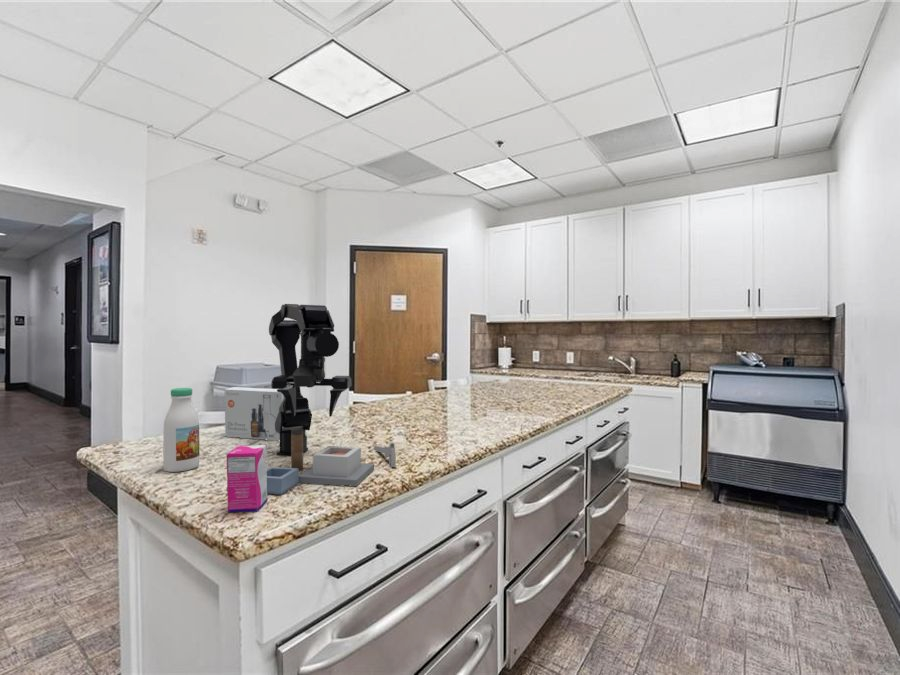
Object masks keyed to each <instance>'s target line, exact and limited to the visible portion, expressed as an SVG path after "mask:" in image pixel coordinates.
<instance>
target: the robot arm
mask: <svg viewBox="0 0 900 675" xmlns="http://www.w3.org/2000/svg"><path fill="white" fill-rule="evenodd" d="M288 319H289V320H288ZM334 332H335V323H334V321H333V318H332V316H331V313H330V311H329V310H328V307H327V306H326V305H320V304H317V305H316V304H297V303H291V304H290V303H284V304H281V307H280V310H278V311H277V312H276V313H275V314H274V315H271V318H270V322H269V326H268V334H269V336H270V337H271V343H272V344H273V345H274V347H276V349H277V350H278V354H279V364H280V371H281V372H280V375H277V376H274V377H273V378H272V380H271V382H270V383H271V385H270V386H271V387H270V389H278V390H277V392H281V393H282V394H283V395H284V399H283V401H282V403H281V405H280V407H279V413H278V415H277V418H276V421H275V431H276V432H277V433H279V434H280V441H279V451H277V452H275V453H276V455H279V456H280V455H281V456H282V455H283V456H285V455H286V456H291V430H292V429H297V428H301V429H303V453H304V452H306V451H308V450H309V447H308V435H306V431H310V430H311V425H312V417H313V413H312V411H311V408H310V407H309V400H308V398H307V397H304V396H303V394H302V393H301V387H304V388H314V387H317V386H318V387H319V386H320V387H323V386H325V387H328V386H329V387H332V389H331V390H329V393H330V400H329V401H330V402H329V408H328V410H329V411H328V413H329V414H328V416H329V417H332V416H333V413H334V411H335V409H336V407H337V403H338V400H339V398H340V397H341V394H342V393H343V392H345V391H347V389H349V388H351V387H352V385H353V384H352V377H351V376H350V375H334V376H332V377H331V378H326V372H325V363H326V357H327V358H328V357H332V356H334V355H335V354H336V353H337V352H338V349H339V346H340V343H339V341H338V340H339V339H338V337H337V336H336V335H335V334H333V333H334ZM299 340H300V358H299V362H298V361H297V360H298V359H297V358H298V357H297V353H296V346H297V343H298V342H299ZM282 427H284V428H282Z"/></svg>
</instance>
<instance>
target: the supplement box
mask: <svg viewBox="0 0 900 675" xmlns="http://www.w3.org/2000/svg"><path fill="white" fill-rule="evenodd" d="M267 466H268V465H267V445H266V444H260V445H259V444H258V445H257V444H256V445H237V446H236V447H235V448H233V449H232V450H231V451H229V452H227V453H226V483H227V484H226V485H227V486H226V487H227V494H226V495H227V512H228V513H245V512H246V513H247V512H249V513H251V512H252V511H253V512H255V511H256V512H257V511H258V512H259V511H260V510H259V509H261V508H262V507H263V506H264V505H265V504H266V502H268V494H267V468H268V467H267ZM256 512H255V513H256Z"/></svg>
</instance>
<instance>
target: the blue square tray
mask: <svg viewBox="0 0 900 675" xmlns="http://www.w3.org/2000/svg"><path fill="white" fill-rule="evenodd" d="M299 472H300V471H299V468H291V467H283V466H282V467H279V466H269V467H267V495H271V494H275V495H274V496H283V495H285V494H286V493H288V492H289V491H291V490H292V489H294V488H295V487H296V486H298V485H299V484H300V483H299V475H300V473H299ZM297 484H298V485H297ZM294 486H295V487H294ZM291 488H292V489H291ZM288 490H289V491H288ZM284 493H285V494H284Z"/></svg>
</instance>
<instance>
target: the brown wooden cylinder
mask: <svg viewBox="0 0 900 675" xmlns="http://www.w3.org/2000/svg"><path fill="white" fill-rule="evenodd" d="M290 456H291V457H290V460H291V461H290V465H291V467H290V468H299V472H300V470H301V471H303V470H304V452H303V429H301V428H297V429H292V430H291V455H290Z"/></svg>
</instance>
